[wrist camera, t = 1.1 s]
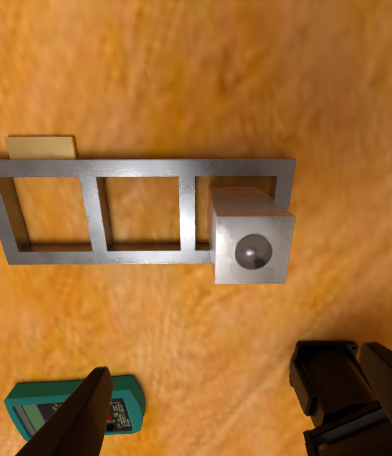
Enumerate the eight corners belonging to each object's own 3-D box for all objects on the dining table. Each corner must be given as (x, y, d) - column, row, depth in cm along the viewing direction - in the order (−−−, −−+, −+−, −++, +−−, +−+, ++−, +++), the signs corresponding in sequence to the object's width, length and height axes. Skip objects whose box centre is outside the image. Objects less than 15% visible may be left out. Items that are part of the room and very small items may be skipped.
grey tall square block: (256, 186, 19) (296, 217, 12) (252, 231, 21) (286, 284, 13) (207, 186, 19) (217, 217, 12) (207, 231, 21) (215, 285, 13)
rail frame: (290, 136, 18) (299, 135, 16) (275, 254, 21) (280, 262, 20) (-16, 137, 18) (-34, 136, 16) (20, 256, 21) (8, 264, 20)
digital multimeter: (149, 410, 30) (144, 438, 27) (36, 418, 30) (20, 446, 27) (139, 369, 27) (133, 395, 25) (16, 379, 28) (-4, 405, 25)
